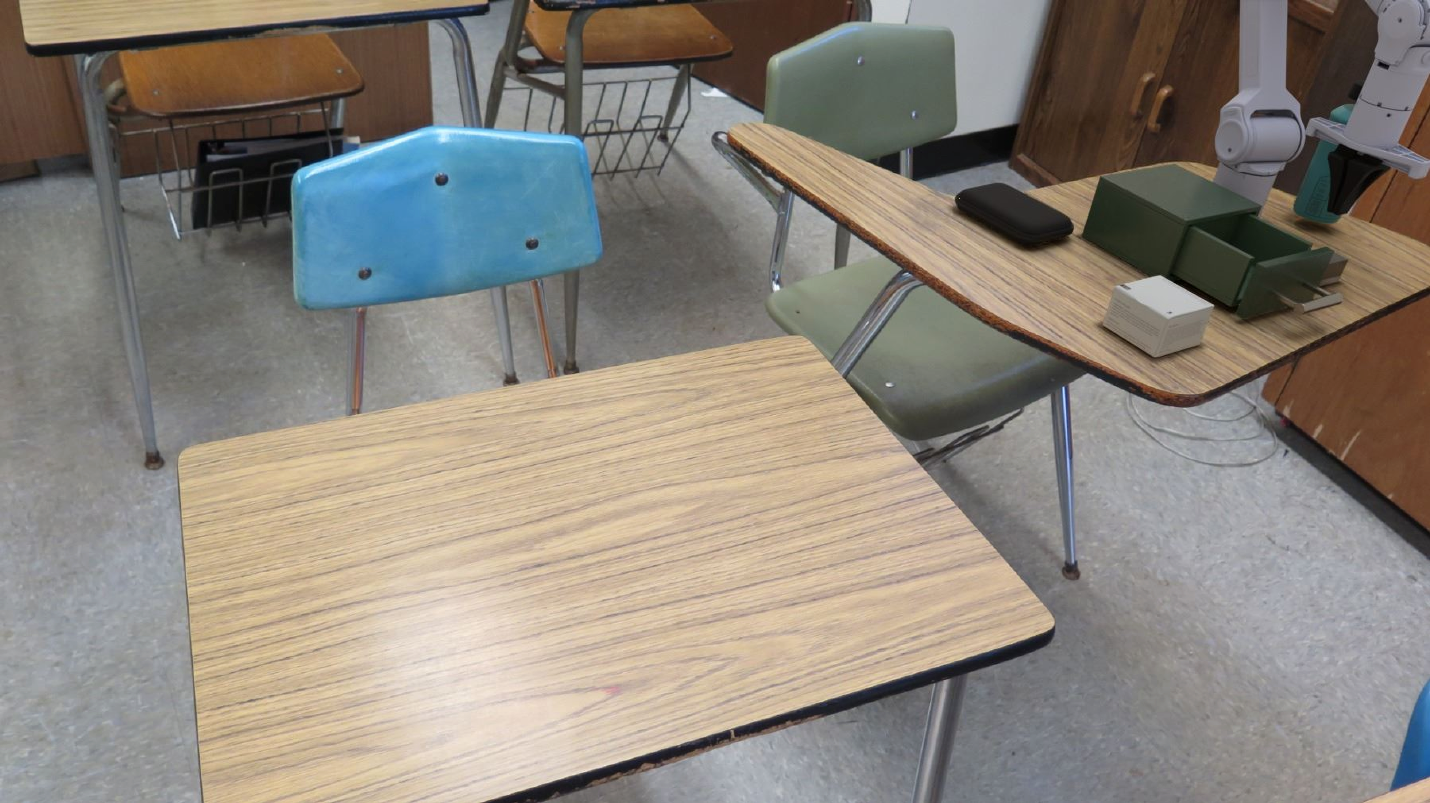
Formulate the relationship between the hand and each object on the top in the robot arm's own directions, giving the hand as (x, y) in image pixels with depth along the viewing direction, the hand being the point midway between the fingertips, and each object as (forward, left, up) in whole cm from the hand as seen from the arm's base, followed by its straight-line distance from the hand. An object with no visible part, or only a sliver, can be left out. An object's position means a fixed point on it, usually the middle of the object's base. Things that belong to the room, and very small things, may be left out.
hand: (1336, 212), depth 131 cm
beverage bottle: (-21, -1, -10) cm, 23 cm away
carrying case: (+9, -35, -10) cm, 38 cm away
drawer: (+11, -6, -9) cm, 15 cm away
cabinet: (+4, -17, -9) cm, 20 cm away
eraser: (0, 0, -9) cm, 9 cm away
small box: (+28, -13, -10) cm, 33 cm away
